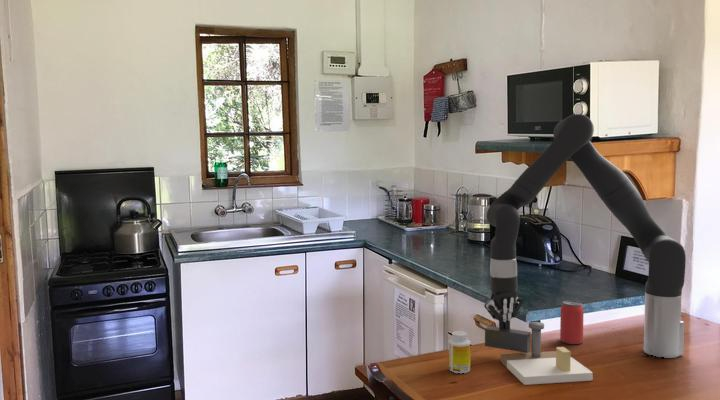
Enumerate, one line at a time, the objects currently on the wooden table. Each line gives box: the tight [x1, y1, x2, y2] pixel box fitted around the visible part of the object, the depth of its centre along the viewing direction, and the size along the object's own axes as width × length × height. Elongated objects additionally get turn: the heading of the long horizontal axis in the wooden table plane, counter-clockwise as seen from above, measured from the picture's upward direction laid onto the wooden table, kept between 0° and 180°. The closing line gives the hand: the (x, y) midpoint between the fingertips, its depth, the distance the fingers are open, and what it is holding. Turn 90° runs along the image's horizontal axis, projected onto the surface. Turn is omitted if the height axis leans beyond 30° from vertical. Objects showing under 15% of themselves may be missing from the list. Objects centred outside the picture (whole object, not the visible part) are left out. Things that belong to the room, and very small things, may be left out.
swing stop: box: [484, 325, 532, 353], centre depth 171 cm, size 12×3×5 cm, turn 59°
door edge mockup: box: [499, 321, 594, 386], centre depth 162 cm, size 18×17×11 cm
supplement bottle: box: [448, 330, 471, 375], centre depth 162 cm, size 6×6×10 cm
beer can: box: [559, 299, 585, 345], centre depth 185 cm, size 7×7×12 cm
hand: (504, 333), depth 175 cm, fingers closed
